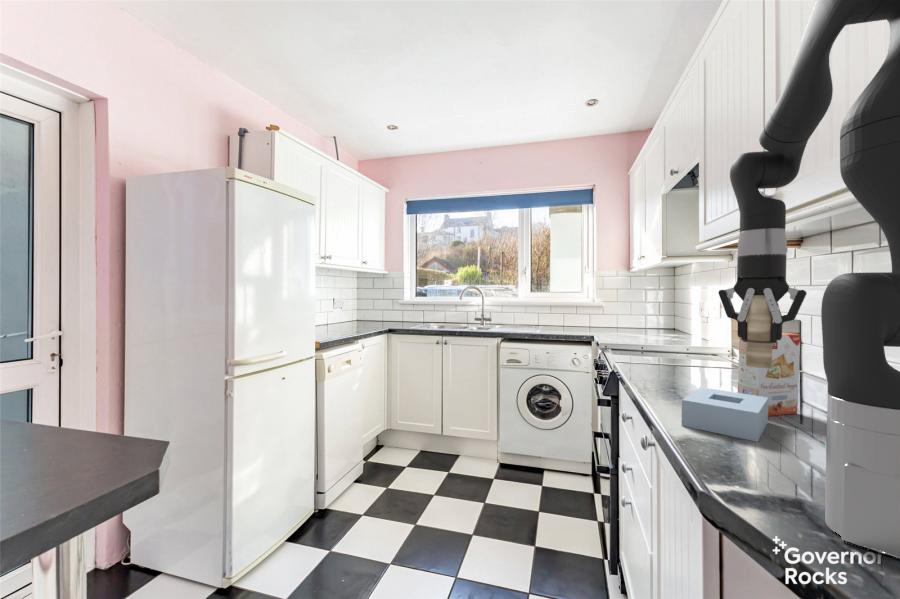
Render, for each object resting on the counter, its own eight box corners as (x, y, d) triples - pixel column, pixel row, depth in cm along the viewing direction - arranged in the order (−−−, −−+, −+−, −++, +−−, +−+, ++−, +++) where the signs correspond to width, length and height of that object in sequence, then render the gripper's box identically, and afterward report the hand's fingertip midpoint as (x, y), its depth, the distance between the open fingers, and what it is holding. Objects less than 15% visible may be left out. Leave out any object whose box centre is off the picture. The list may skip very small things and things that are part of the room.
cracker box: (759, 418, 96) (761, 334, 96) (735, 411, 102) (737, 332, 102) (800, 414, 100) (801, 333, 100) (775, 407, 106) (776, 331, 106)
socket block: (757, 441, 81) (758, 413, 81) (681, 425, 90) (681, 399, 90) (768, 422, 93) (768, 397, 93) (700, 409, 103) (700, 387, 103)
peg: (771, 369, 74) (772, 295, 73) (743, 366, 77) (745, 295, 76) (773, 366, 77) (774, 295, 76) (747, 363, 80) (748, 295, 79)
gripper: (714, 255, 79) (712, 339, 79) (809, 250, 69) (807, 347, 69) (721, 257, 84) (719, 336, 84) (811, 253, 74) (809, 343, 74)
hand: (759, 340), depth 76 cm, fingers closed on peg, 4 cm apart
